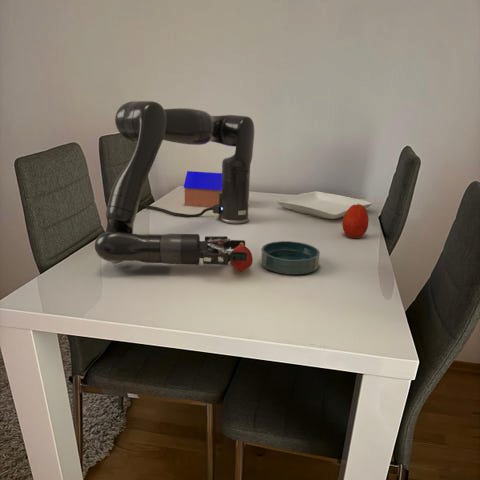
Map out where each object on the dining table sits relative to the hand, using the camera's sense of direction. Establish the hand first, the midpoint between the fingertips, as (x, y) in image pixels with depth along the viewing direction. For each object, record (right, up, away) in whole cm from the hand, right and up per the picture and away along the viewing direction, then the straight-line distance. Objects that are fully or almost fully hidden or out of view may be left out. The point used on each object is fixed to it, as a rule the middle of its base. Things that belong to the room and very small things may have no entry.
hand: (245, 250), depth 113 cm
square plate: (+31, +25, +62) cm, 73 cm away
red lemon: (-1, -5, +3) cm, 6 cm away
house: (-12, +28, +65) cm, 71 cm away
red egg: (+35, +10, +34) cm, 50 cm away
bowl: (+12, -3, +8) cm, 15 cm away
